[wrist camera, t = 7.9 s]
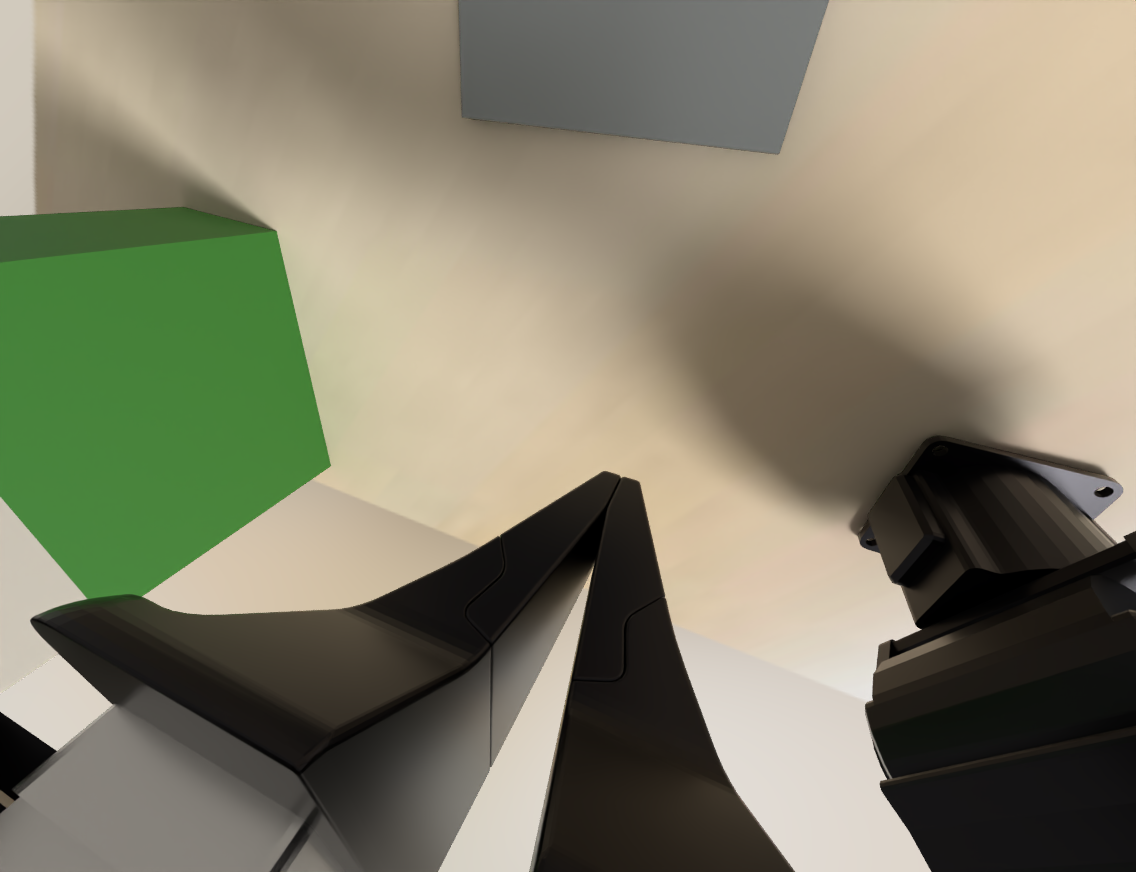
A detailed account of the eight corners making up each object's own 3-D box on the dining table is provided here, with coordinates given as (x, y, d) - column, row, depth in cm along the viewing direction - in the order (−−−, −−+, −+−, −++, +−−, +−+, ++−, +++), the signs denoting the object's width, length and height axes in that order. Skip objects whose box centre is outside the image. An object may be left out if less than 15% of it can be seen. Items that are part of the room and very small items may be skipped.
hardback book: (330, 466, 34) (-201, 832, 15) (261, 438, 36) (-300, 738, 17) (276, 231, 24) (-1479, 429, 5) (183, 207, 26) (-1429, 289, 7)
